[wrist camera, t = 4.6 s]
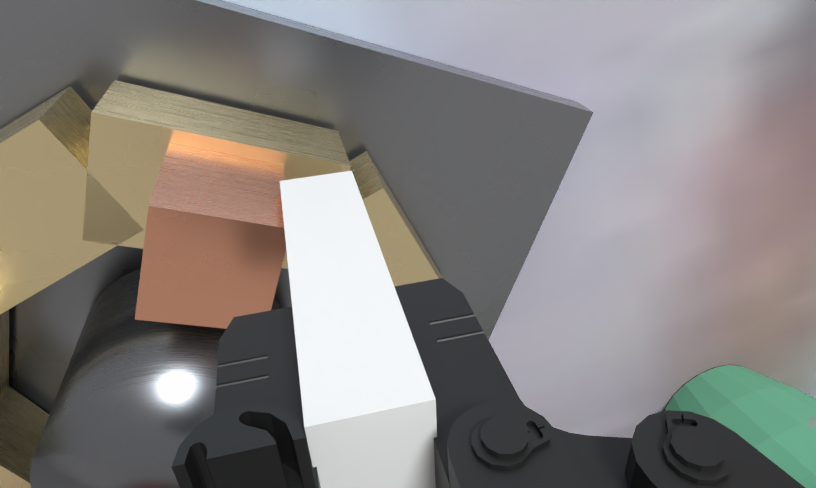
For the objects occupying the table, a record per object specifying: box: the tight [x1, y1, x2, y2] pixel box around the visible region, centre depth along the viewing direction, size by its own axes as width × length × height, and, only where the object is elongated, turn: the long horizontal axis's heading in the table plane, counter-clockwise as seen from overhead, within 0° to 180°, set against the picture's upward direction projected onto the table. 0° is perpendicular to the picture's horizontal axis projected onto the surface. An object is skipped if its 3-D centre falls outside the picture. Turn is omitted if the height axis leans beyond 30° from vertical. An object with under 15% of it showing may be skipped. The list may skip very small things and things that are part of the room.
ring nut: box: [0, 80, 444, 488], centre depth 16 cm, size 16×16×5 cm
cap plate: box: [0, 0, 593, 488], centre depth 16 cm, size 20×20×6 cm
